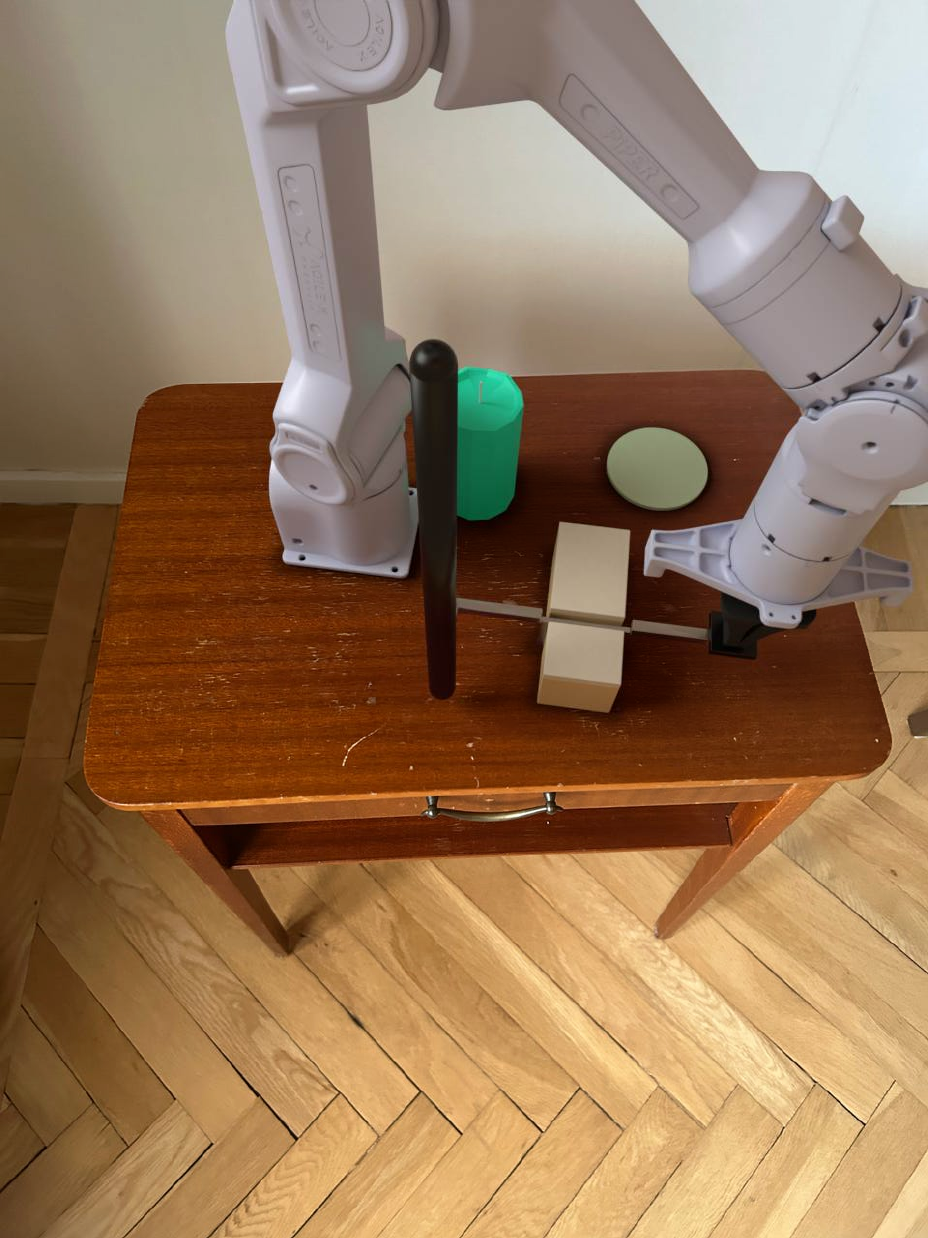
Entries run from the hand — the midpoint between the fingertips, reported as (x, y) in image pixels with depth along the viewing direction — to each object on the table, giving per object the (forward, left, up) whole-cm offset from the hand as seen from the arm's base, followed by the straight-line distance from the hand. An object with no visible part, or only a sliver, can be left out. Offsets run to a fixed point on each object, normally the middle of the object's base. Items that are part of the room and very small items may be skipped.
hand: (734, 633), depth 57 cm
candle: (-19, +13, -6) cm, 23 cm away
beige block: (-10, -2, -6) cm, 11 cm away
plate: (-5, +17, -6) cm, 18 cm away
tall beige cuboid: (-10, +4, -6) cm, 12 cm away
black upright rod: (-9, -2, -5) cm, 11 cm away
